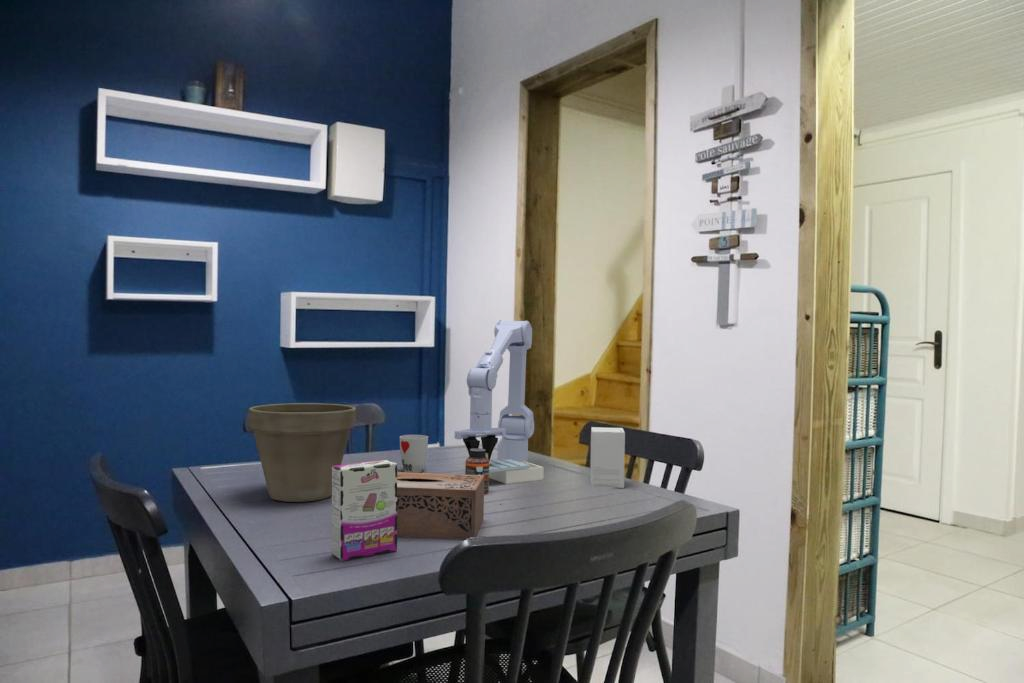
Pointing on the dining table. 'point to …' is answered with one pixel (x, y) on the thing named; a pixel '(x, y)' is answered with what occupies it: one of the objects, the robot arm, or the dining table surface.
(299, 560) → the dining table surface
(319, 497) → the plant pot
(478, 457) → the supplement bottle
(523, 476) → the tub
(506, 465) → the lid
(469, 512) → the tissue box cover
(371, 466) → the candy bar box
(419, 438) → the cup
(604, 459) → the supplement box
